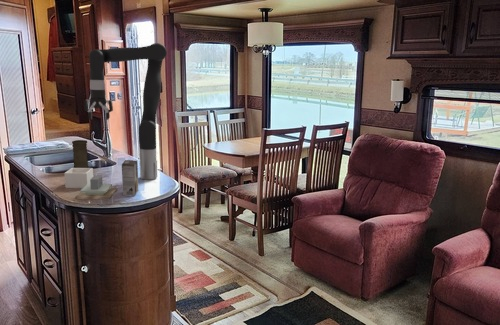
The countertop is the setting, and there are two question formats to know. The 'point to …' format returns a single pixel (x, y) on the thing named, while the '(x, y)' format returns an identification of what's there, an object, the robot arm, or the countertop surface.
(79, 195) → the board
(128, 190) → the coffee box
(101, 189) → the lid
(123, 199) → the countertop surface
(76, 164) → the container
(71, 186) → the bin
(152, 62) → the robot arm
